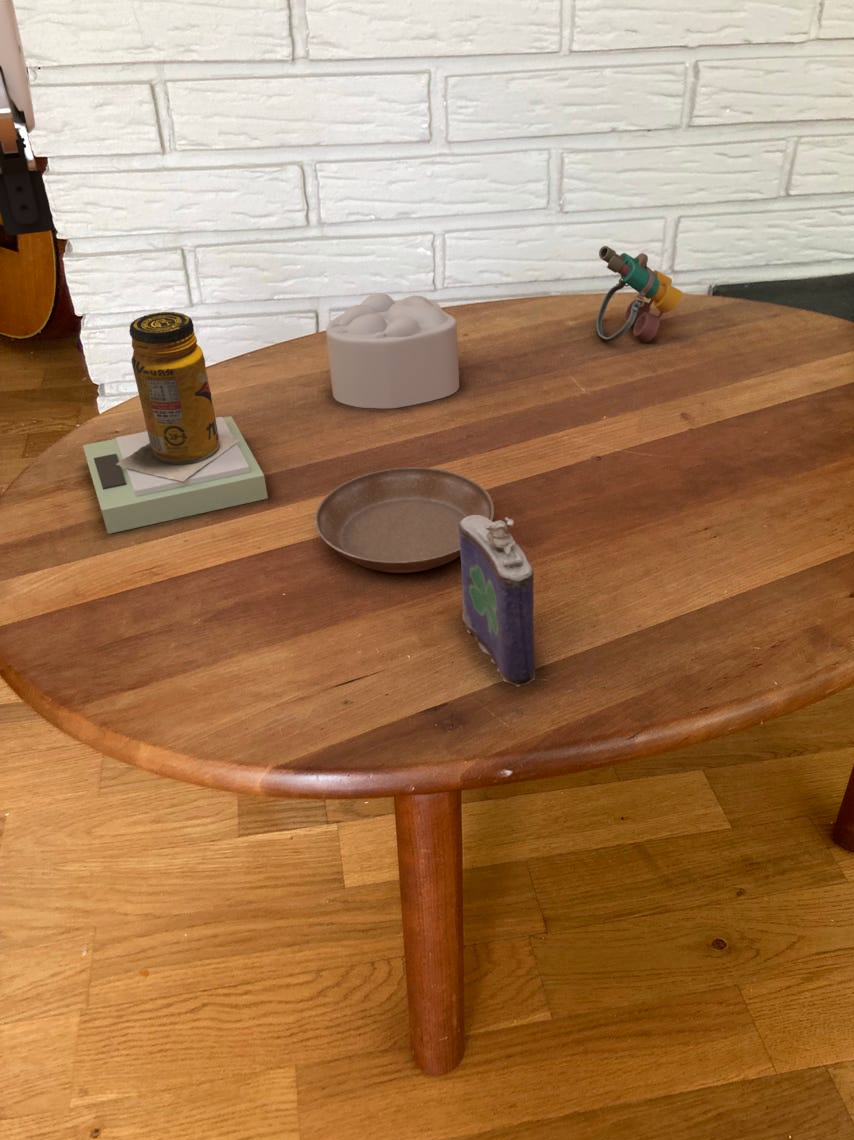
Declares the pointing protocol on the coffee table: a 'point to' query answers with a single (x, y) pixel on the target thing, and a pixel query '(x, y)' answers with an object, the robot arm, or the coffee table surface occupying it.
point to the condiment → (173, 398)
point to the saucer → (400, 518)
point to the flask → (498, 596)
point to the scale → (171, 482)
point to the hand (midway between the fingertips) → (24, 214)
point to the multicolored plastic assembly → (647, 286)
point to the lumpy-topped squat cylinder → (393, 353)
